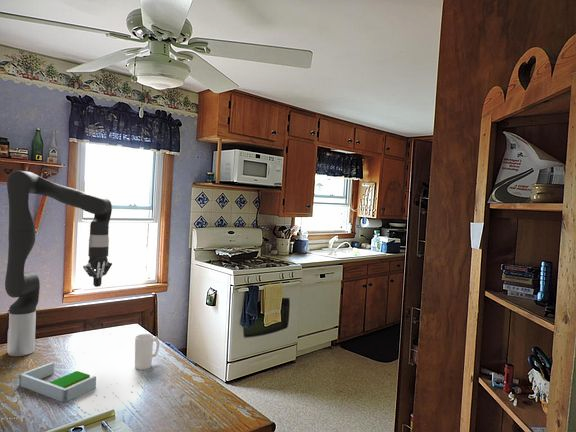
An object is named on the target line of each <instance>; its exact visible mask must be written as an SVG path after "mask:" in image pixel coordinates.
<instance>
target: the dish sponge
mask: <svg viewBox="0 0 576 432" xmlns="http://www.w3.org/2000/svg"><path fill="white" fill-rule="evenodd" d="M90 377H91V374H88V373H85V372H83V371H79V370H77V371H73V372H72V373H71V372H70V373H69V374H66V375H64V376H62V377H59V378H56V379H54V380H52V381H48V382H49V383H51V384H54V385H57V386H60V387H63V388H68V387H70V386H72V385H74V384H77V383H79V382H81V381H84V380H86V379H88V378H90Z"/></svg>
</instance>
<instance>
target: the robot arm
mask: <svg viewBox="0 0 576 432" xmlns="http://www.w3.org/2000/svg"><path fill="white" fill-rule="evenodd" d="M6 186H7V187H6V188H7V198H8V232H7V233H8V241H7V242H8V250H7V251H8V253H7V266H6V272H5V279H4V280H5V282H4V287H5V292H6V294H7V295H8V297H10V298H13V299H14V298H17V299H16V301H14V302H13V303H12V304H11V305H10V306H9V310H8V314H9V315H8V330H7V347H6V353H7V355H8V356H10V357H22V356H27V355H30V354H33V353H34V352H35V351H36V350H35V347H36V346H35V344H36V322H37V321H36V320H37V319H36V318H37V314H36V313H37V306H38V304H39V299H40V288H41V287H40V286H41V285H40V284H41V283H40V278H39V276H38V275H37V274H36V273H35V272H33V271H29V272H28V271H27V272H25V264H26V261H27V259H28V257H29V255H30V253H31V252H32V250H33V248H34V246H35V243H36V231H37V230H36V223H35V220H34V217H33V215H32V213H31V210H30V205H29V201H30V200H29V198H30V197H29V194H33V195H34V194H35V195H40V196H46V197H49V198H51V199H53V200H56V201H57V202H59V203H62V204H64V205H67V206H71V207H74V208H78V209H81V210H83V211H84V212H87V213H89V214H92V215H93V216H94V217H93V219H92V221H91V222H90V223H89V224H90V225H89V237H88V261H87V262H88V263H87V264H86V265H83V266H82V268H83V270H84V271H85V272H86V274H87V276H89V277H92V278H93V281H92V284H93V286H94V287H96V288H98V287H99V288H100V287H102V286H101V285H102V280H103V279H102V278H103V277H104V276H106V275H107V274H108V272H109V270H110V269H111V267H112V265H113V263H112V262H109V260H108V257H109V245H110V244H109V243H110V239H109V230H110V229H109V228H110V227H109V225H110V220H111V216H112V211H113V205H112V202H111V201H110V199H108V198H107V197H97V196H93V195H91V194H88V193H86V192H84V191H81V190H79V189H76V188H73V187H69V186H67V185H66V186H65V185H61V184H58V183H56V182H54V181H53V182H52V181H51V180H48V179H45V178H44V177H42V176H40V175H38V174H35V173H34V172H32V171H25V170H15V171H14V170H13V171H12V172H11V173H9V175H8V176H7V181H6Z"/></svg>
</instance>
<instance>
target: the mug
mask: <svg viewBox="0 0 576 432" xmlns="http://www.w3.org/2000/svg"><path fill="white" fill-rule="evenodd" d="M134 338H135V339H134V340H135V341H134V342H135V343H134V347H135V348H134V368H135V369H137V370H141V371H142V370H148V369H150V368H151V367H152V362H153V358H155V357H157V355H158V352H159V350H160V340H159V339H158V338H159V337H158V336H154V335H153V334H151V333H150V334H149V333H142V334H137V335H136V336H135V337H134ZM154 342H155V344H156V347H155V350H154V352H153V349H154Z"/></svg>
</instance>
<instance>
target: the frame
mask: <svg viewBox="0 0 576 432" xmlns="http://www.w3.org/2000/svg"><path fill="white" fill-rule="evenodd" d="M54 373H55V362H53V361H52V362H49V363H47V364H44V365H41V366H38V367H36V368H33V369H30V370H27V371H25V372H22V373H19V376H18V377H19V381H18V386H20V387H21V388H25V389H27V390H30V391H32V392H34V393H35V392H36V393H37V394H41V395H43V396H45V397H48V398H51V399H54V400H56V401H59V402H62V403H66V402H69V401H71V400H73V399H75V398H77V397H79V396H81V395H83V394H85V393H87V392H90V391H92V390H94V389H95V388H97V375H92V376H90V378H88V379H86V380H84V381H81V382H79V383H77V384H74V385H72V386H70V387H68V388H63V387H60V386H57V385H54V384H51V383H49V382H50V381H45V380H43V378H45V377H48V376H50V375H53V374H54Z"/></svg>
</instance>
